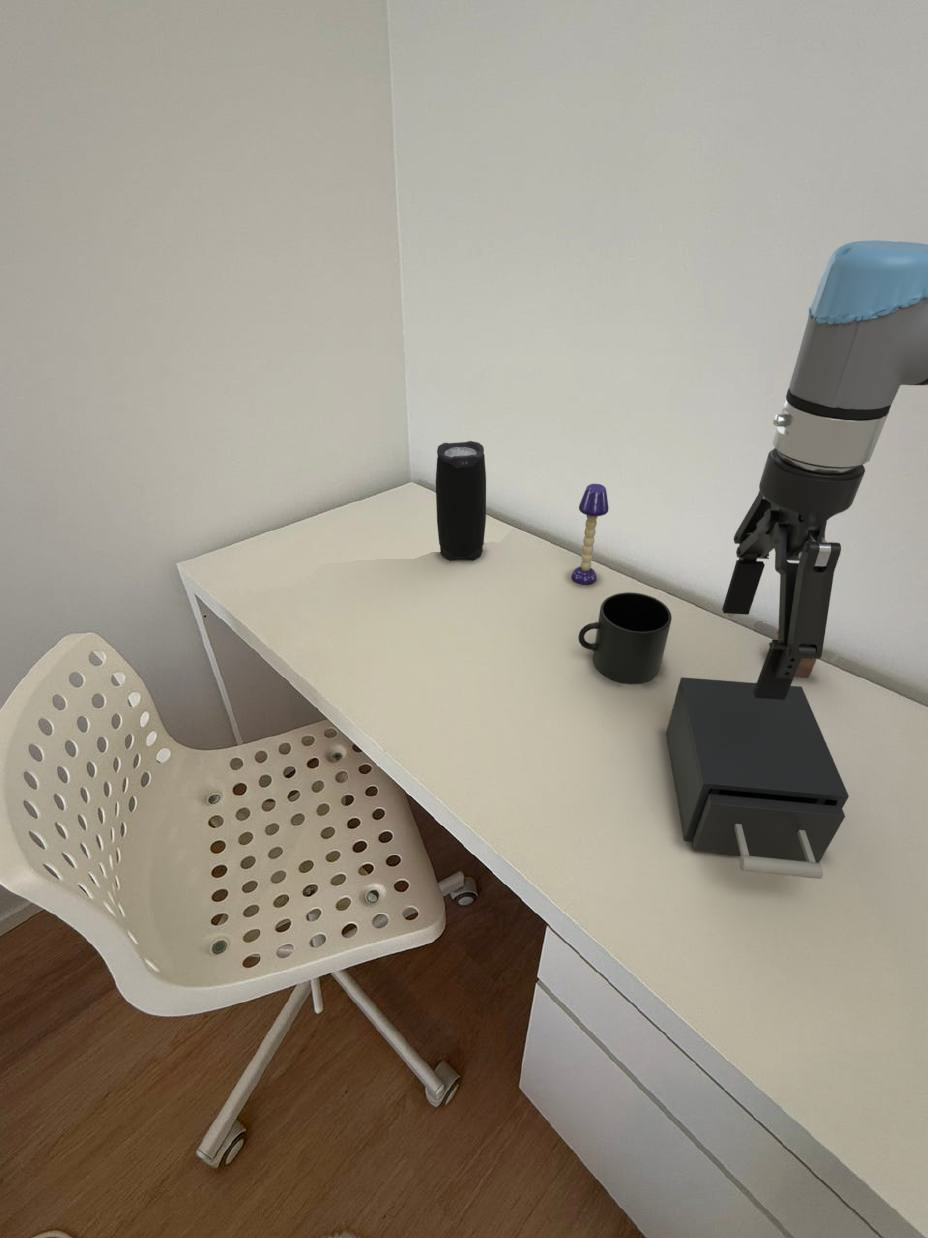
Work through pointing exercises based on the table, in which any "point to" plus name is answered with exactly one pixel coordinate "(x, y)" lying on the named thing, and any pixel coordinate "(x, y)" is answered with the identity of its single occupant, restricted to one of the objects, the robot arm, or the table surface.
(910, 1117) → the table surface
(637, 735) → the table surface
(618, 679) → the mug
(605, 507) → the toy lamp
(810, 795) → the cabinet
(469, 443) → the portable speaker
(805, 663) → the block
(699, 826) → the drawer
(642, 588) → the table surface
